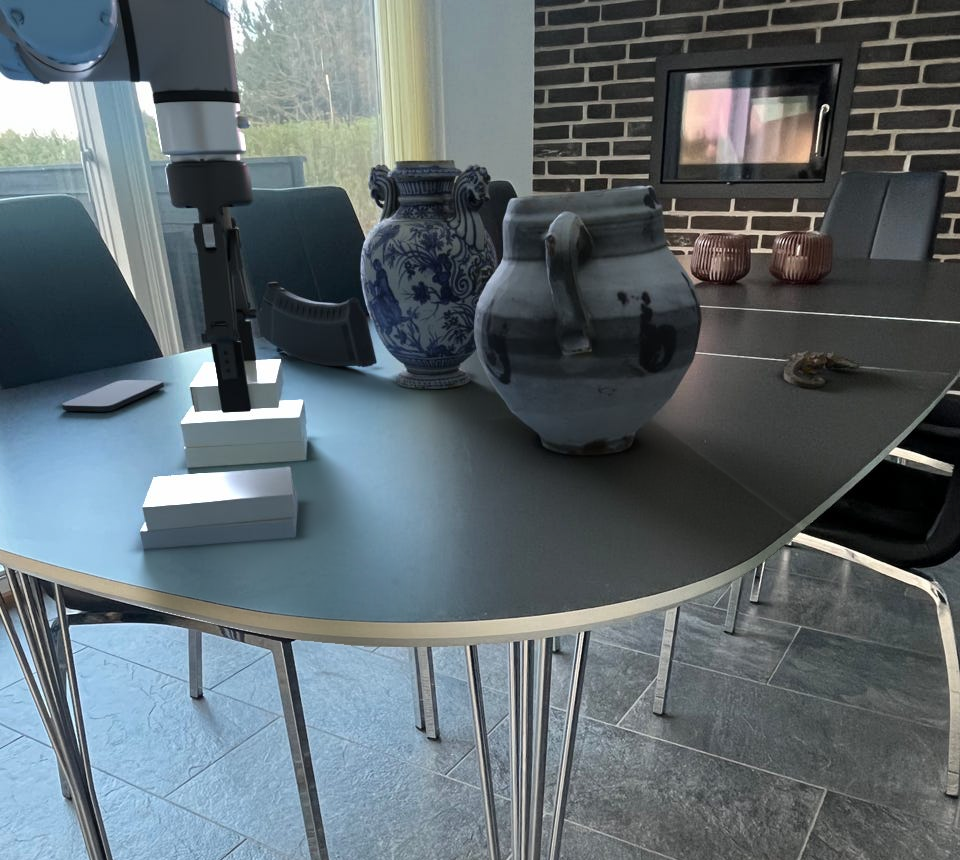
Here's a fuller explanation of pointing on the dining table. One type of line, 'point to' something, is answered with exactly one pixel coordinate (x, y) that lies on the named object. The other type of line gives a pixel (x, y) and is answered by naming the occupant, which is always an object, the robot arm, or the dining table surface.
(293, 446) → the white books
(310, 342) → the magazine
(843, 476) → the dining table surface
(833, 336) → the dining table surface
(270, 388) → the white book
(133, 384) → the phone
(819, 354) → the seahorse
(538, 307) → the ceramic pot
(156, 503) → the white box
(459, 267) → the decorative vase
